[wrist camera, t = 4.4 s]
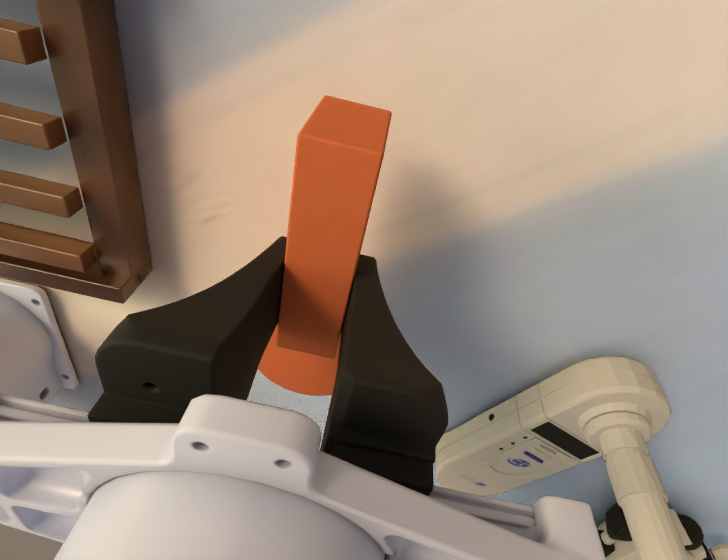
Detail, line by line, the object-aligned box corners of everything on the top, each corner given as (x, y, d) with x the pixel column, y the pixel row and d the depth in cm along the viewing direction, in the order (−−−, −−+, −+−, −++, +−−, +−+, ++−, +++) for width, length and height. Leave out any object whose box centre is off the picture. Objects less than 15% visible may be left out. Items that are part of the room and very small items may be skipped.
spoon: (277, 82, 13) (237, 118, 10) (438, 122, 13) (442, 168, 11) (258, 353, 21) (233, 415, 18) (359, 376, 21) (349, 440, 19)
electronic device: (415, 607, 23) (705, 547, 14) (420, 439, 30) (611, 333, 22) (487, 633, 24) (786, 594, 16) (474, 467, 32) (673, 380, 23)
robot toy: (622, 454, 29) (472, 531, 37) (654, 521, 26) (480, 592, 33) (726, 515, 33) (569, 575, 40) (767, 583, 29) (586, 634, 37)
